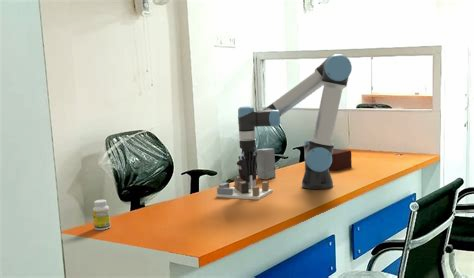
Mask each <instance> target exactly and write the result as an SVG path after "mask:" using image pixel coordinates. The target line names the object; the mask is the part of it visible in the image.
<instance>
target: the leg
mask: <svg viewBox="0 0 474 278" xmlns="http://www.w3.org/2000/svg"><path fill="white" fill-rule="evenodd" d="M235 178H236V179H235ZM235 178H234V180H235V182H234V187H235V188H236V189H237V190H239V191H240V192H241V193H242V194H243V193H249V187H248V183H247V182H245V181H244V180H242V179H241V178H240V177H237V176H236V177H235Z"/></svg>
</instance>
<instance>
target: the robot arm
mask: <svg viewBox="0 0 474 278" xmlns="http://www.w3.org/2000/svg"><path fill="white" fill-rule="evenodd" d="M352 68H353V67H352V63H351V61H350V59H349V58H348V57H347V56H345V55H344V54H342V53H340V54H339V53H335V54H333V55H330V56H328V57H327V58H326V59H325V60H324V61H323V62H322V63H321V64H320V65H319V66H318V67H316V68H315V69H314V72H312V74H310V75H309V76H307V77H306V78H304V79H303V80H302V81H300V82H299V83H298V84H297V85H295V86H294V87H292V88H291V89H290V90H288V91H287V92H285V93H284V94H282V95H281V96H280V97H279V98H277V99H276V100H275V101H273V102H272V103H270V104H269V105H268V106H267V107H265V108H263V109H261V110H255V108H254V106H249V105H248V106H240V107H239V108H238V109H237V122H238V136H239V138H238V139H239V148H240V149H241V155H239V156H238V161H239V160H240V164H241V169H242V174H243V175H245V176H246V182H247V183H248V187H249V189H252V187H253V177H252V175H254V174H255V168H256V169H257V164H256V160H257V152H256V151H255V148H256V140H255V139H256V128H258V127H278V126H280V125H281V116H283V115H284V114H285V113H287V112H289V111H290V110H291V109H293V108H294V107H296V106H297V105H298V104H300V103H301V102H302V101H304V100H305V99H306V98H307V97H309V96H311V95H312V94H313V93H315V92H316V91H318V90H319V89H320V88H322V87H323V89H322V94H321V98H320V103H319V108H318V114H317V117H316V123H315V128H314V132H313V136H312V137H311V138H310V139H309V140H305V141H304V144H303V149H304V174H303V178H302V181H301V187H302V188H304V189H308V190H325V189H331V188H332V187H334V181H333V178H332V175H331V173H330V170H329V167H330V165H331V163H332V153H333V149H335V148H334V147H335V144H334V142H333V141H332V140H333V136H334V131H335V127H336V123H337V116H338V112H339V108H340V102H341V98H342V94H343V90H344V89H345V88H346V87H347V85H348V81H349V77H350V75H351V73H352Z"/></svg>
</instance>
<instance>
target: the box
mask: <svg viewBox="0 0 474 278" xmlns="http://www.w3.org/2000/svg"><path fill="white" fill-rule="evenodd" d="M352 167H353V165H352V150H350V149H349V150H348V149H341V148H333V153H332V163H331V165H330V167H329V172H330V171H331V172H339V171H341V170H346V169H350V168H352Z"/></svg>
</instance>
